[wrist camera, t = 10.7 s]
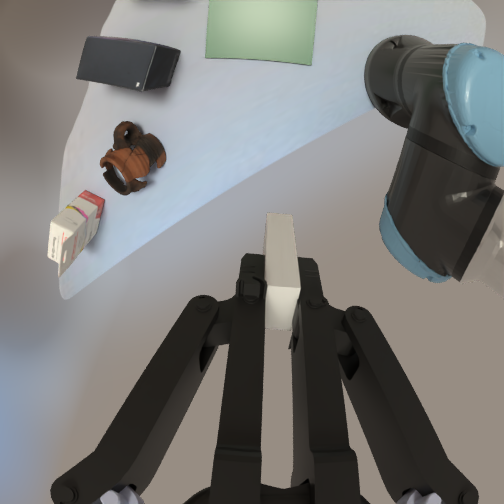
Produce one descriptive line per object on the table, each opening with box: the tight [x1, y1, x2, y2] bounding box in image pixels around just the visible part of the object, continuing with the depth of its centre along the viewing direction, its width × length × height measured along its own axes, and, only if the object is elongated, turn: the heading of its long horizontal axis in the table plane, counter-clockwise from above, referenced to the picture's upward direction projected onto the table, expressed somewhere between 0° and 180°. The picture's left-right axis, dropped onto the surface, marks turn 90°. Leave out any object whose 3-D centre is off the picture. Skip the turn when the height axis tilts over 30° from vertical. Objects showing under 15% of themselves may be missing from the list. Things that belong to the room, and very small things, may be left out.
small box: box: [76, 36, 180, 92], centre depth 32 cm, size 11×6×10 cm, turn 70°
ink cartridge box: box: [48, 190, 104, 277], centre depth 46 cm, size 9×5×15 cm, turn 151°
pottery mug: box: [100, 121, 166, 195], centre depth 43 cm, size 12×10×8 cm
